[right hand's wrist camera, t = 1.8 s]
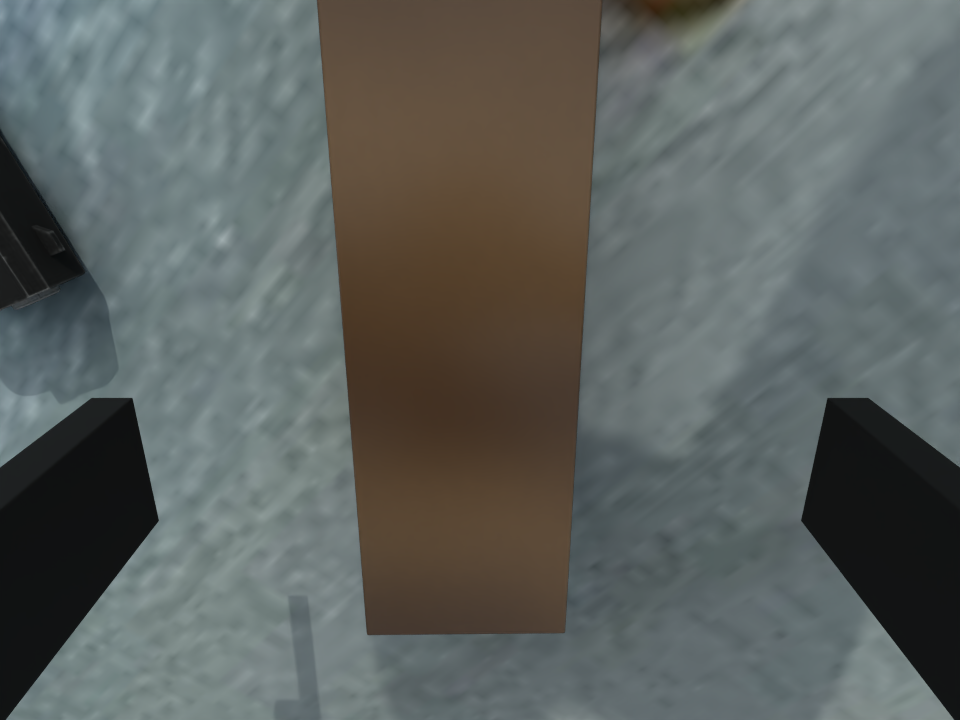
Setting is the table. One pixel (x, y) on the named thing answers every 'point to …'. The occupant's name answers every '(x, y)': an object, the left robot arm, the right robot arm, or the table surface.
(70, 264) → the handgun
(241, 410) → the table surface
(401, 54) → the post
